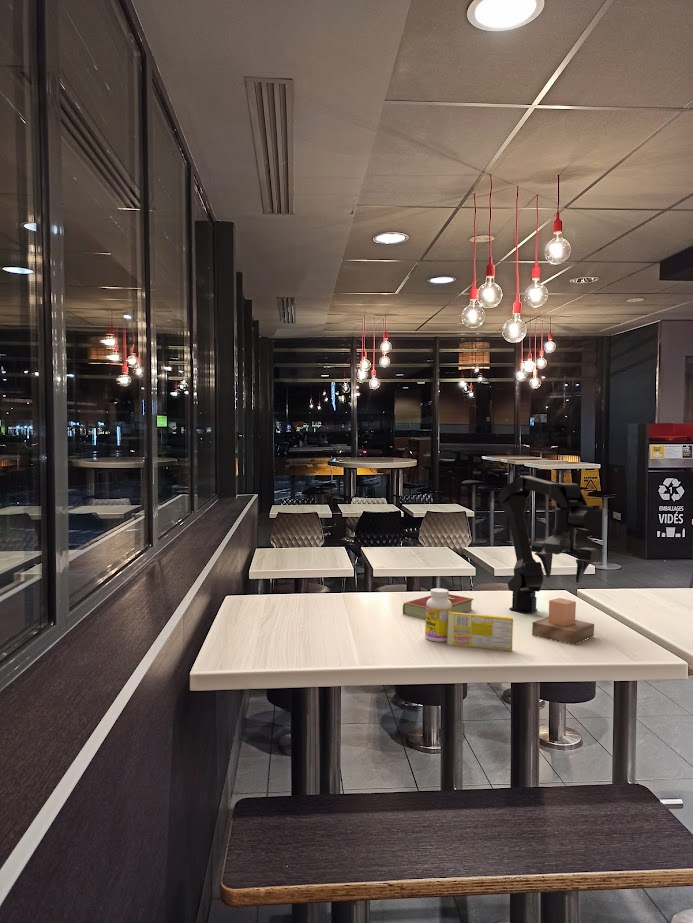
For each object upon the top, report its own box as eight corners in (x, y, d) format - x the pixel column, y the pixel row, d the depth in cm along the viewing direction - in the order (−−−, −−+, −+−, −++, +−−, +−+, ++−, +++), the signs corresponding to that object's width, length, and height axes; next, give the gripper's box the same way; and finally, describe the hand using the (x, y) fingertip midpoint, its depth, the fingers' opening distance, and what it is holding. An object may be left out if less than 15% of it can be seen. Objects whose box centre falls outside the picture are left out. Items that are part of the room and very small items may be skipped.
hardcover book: (402, 615, 203) (402, 601, 203) (440, 604, 219) (440, 591, 219) (436, 623, 195) (437, 608, 195) (472, 611, 211) (473, 597, 211)
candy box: (512, 649, 171) (513, 617, 171) (512, 652, 169) (513, 619, 168) (447, 642, 175) (449, 610, 175) (446, 644, 173) (448, 612, 173)
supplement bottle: (420, 636, 180) (422, 587, 179) (442, 634, 182) (444, 586, 182) (432, 643, 173) (434, 593, 173) (455, 641, 176) (457, 592, 175)
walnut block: (532, 636, 185) (532, 622, 184) (552, 629, 193) (553, 615, 193) (574, 646, 176) (574, 631, 176) (593, 638, 185) (594, 623, 185)
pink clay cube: (548, 622, 185) (549, 600, 185) (559, 619, 188) (559, 597, 188) (564, 626, 181) (565, 604, 181) (575, 623, 184) (575, 601, 184)
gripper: (521, 524, 197) (519, 577, 198) (582, 531, 184) (580, 589, 184) (541, 522, 205) (539, 573, 205) (601, 529, 192) (598, 584, 192)
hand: (562, 580), depth 197 cm, fingers open, 9 cm apart
